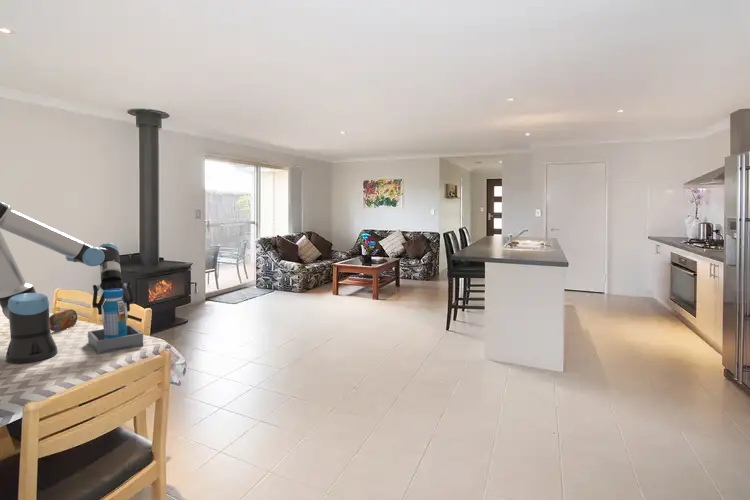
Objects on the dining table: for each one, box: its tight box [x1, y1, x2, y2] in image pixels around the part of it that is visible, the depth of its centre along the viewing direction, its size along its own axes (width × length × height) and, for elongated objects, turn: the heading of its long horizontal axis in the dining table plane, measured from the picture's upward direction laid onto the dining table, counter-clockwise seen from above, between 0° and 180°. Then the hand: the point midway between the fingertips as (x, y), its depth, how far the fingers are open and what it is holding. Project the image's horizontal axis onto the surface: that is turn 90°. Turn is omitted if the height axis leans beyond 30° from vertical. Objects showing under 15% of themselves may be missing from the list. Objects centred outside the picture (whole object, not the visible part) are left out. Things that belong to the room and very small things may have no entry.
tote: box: [87, 324, 144, 355], centre depth 175 cm, size 18×16×5 cm
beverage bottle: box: [102, 288, 127, 339], centre depth 174 cm, size 8×8×20 cm
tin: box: [49, 309, 78, 332], centre depth 196 cm, size 15×3×8 cm, turn 179°
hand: (115, 319), depth 171 cm, fingers closed on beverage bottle, 7 cm apart
